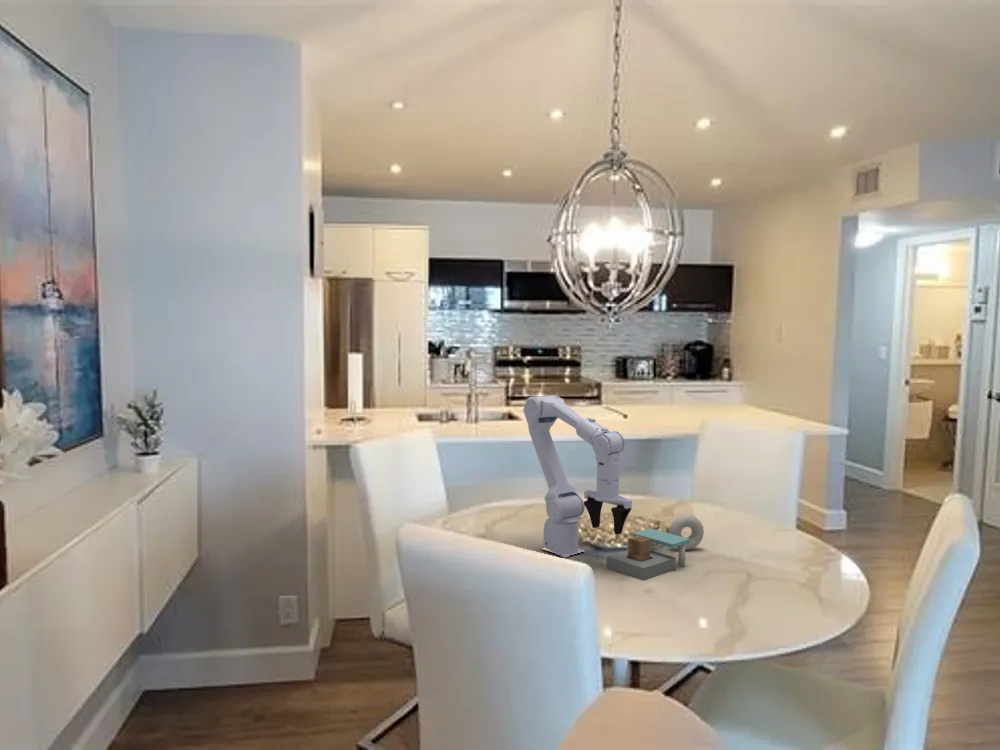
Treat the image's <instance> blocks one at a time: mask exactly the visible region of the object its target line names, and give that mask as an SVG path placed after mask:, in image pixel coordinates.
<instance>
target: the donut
mask: <svg viewBox="0 0 1000 750" xmlns="http://www.w3.org/2000/svg"><path fill="white" fill-rule="evenodd" d="M685 528H689V529H690V530H691V532H690V535H689V536H687V537H686V538H688V539H690V543H688V544H685V551H689V550H692V549H693V550H694V549H695V548H696V547H698V546H699V545H700V544H701V542H702V540H703V539H704V534H705V532H704V526H703V524H702V521H700V520H699V518H698V517H696V516H693V515H691V514H683V515H680V516H677V517H676V518H675V519H674V520H673V521H672V522H671V524H670V526H669V529H668V533H670V534H673V535H677V536H681V537H683V536H682V531H683V529H685ZM676 548H678V549H679V546H678V547H676Z"/></svg>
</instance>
